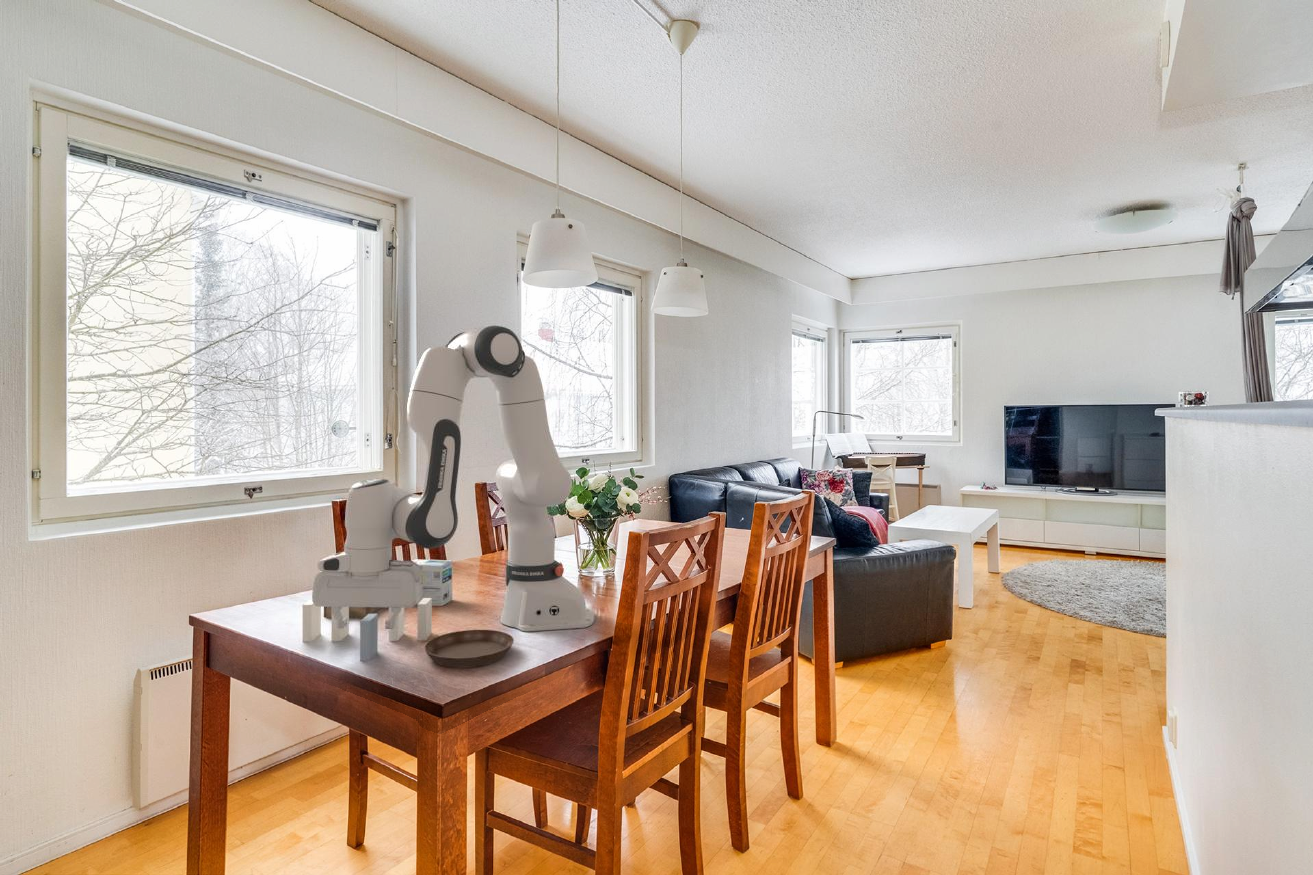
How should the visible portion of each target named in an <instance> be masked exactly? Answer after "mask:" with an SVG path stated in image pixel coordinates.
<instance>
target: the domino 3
mask: <svg viewBox="0 0 1313 875" xmlns="http://www.w3.org/2000/svg"><path fill="white" fill-rule="evenodd" d="M378 617H379V613H374V614H368V615H367V616H366V617H364V618H362V619H361V620H360V623H359V628H360V629H359V634H360V635H359V658H360V659H359V660H360V661H359V662H370V661H371V660H372V658H374V657H375V656H376V654H378V649H379V648H378V647H379V645H378V642H379V641H378V632H379V627H378V626H379V621H378V620H379V618H378Z"/></svg>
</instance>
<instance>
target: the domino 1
mask: <svg viewBox="0 0 1313 875" xmlns="http://www.w3.org/2000/svg"><path fill="white" fill-rule="evenodd" d="M321 611H322V607H317V606H315V604H314V603H313V602H312V598H311V599H309V600H307V601H306V602H305V603H303V604H302V642H303V643H304V642H307V643H309V642H310V643H311V642H313V641H314V640H316V639H317V638H318V637H319V636H320V635H321V634H322V632H321V631H322V629H321V628H322V627H321V626H322V624H321V623H322V622H321V621H322V612H321Z"/></svg>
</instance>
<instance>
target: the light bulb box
mask: <svg viewBox="0 0 1313 875" xmlns="http://www.w3.org/2000/svg"><path fill="white" fill-rule="evenodd" d="M411 561H413V562H414V563H416V564H418V565H419V567H420V569H421V575H420V580H419V590H420V599H419V601H418V603H419V602H420V601H421V600H422V599H423V598H432V607H443V606H445V605H447V604H448V603H450V602H451V601H452V600H453V560H452V559H451V560H449V559H448V560H447V559H445V560H444V559H443V560H442V559H420V558H419V559H418V558H416V559H415V558H414V559H413V560H411ZM413 566H415V565H413ZM418 603H417V604H416V605H415V606H418Z"/></svg>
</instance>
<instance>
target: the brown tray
mask: <svg viewBox="0 0 1313 875" xmlns="http://www.w3.org/2000/svg"><path fill="white" fill-rule="evenodd" d="M381 608H382V607H349V619H361V618H362V619H363V618H364V617H366V616H367V615H368V614H377V612H378V611H379V610H380V609H381ZM323 618H326V619H332V613H331V607H323Z"/></svg>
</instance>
